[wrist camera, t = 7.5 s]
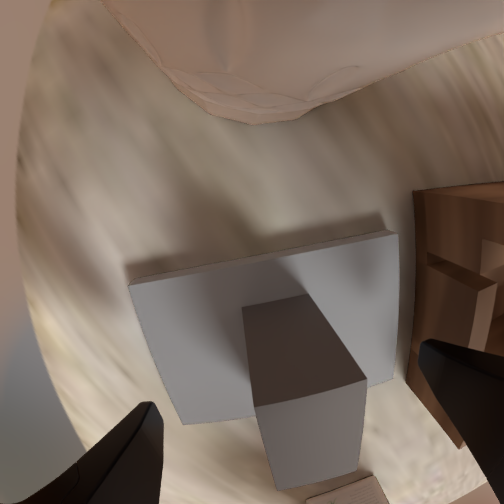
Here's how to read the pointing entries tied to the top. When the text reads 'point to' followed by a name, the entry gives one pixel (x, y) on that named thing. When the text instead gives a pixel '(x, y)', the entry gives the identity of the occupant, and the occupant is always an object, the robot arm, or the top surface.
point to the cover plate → (216, 328)
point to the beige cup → (295, 46)
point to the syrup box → (353, 494)
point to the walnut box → (457, 278)
